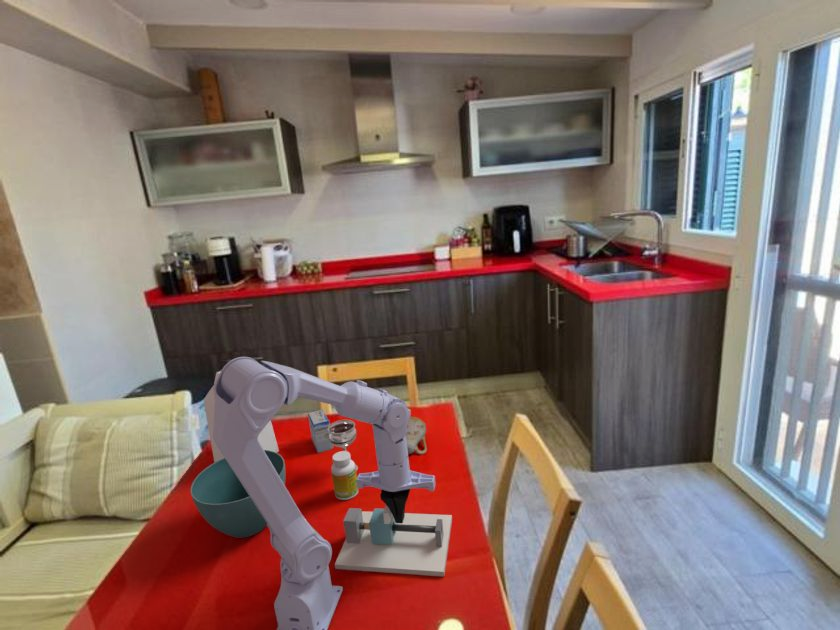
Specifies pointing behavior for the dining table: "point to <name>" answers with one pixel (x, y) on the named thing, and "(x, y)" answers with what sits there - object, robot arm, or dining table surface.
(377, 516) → the slider block
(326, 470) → the dining table surface
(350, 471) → the supplement bottle
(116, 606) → the dining table surface
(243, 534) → the teal bowl
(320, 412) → the medicine box
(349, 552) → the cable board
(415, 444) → the mug
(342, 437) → the wineglass
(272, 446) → the milk
